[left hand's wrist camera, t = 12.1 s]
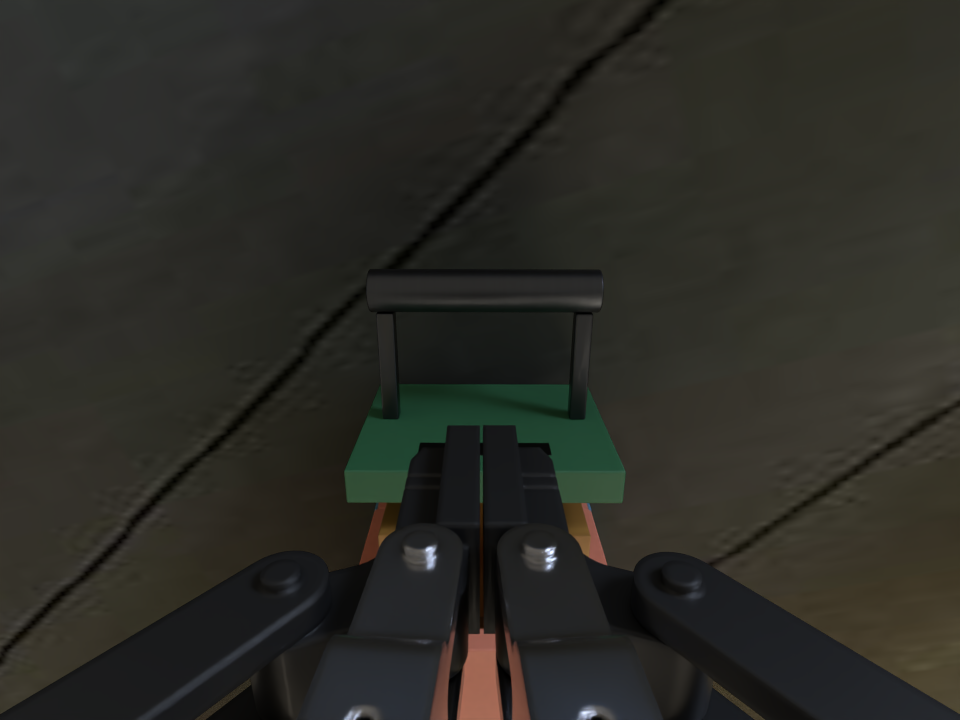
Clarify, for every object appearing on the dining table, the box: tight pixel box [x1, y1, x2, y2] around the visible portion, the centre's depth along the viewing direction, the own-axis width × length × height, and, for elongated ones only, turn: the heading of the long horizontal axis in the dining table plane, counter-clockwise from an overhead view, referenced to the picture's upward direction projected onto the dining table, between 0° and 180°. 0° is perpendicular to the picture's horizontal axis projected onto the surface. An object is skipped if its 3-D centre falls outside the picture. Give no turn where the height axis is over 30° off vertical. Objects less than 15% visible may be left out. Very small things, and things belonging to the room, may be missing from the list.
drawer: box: [344, 269, 626, 629], centre depth 22 cm, size 18×9×7 cm, turn 0°
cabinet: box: [359, 503, 607, 720], centre depth 26 cm, size 14×10×9 cm
